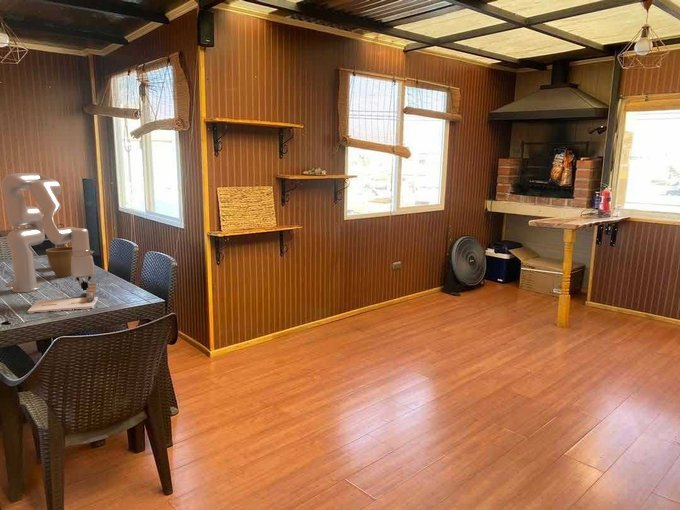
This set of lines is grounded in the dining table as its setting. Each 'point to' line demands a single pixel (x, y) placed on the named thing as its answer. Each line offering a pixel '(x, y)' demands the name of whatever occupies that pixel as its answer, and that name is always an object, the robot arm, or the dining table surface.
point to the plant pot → (60, 260)
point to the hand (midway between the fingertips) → (84, 289)
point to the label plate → (62, 304)
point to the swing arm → (91, 291)
